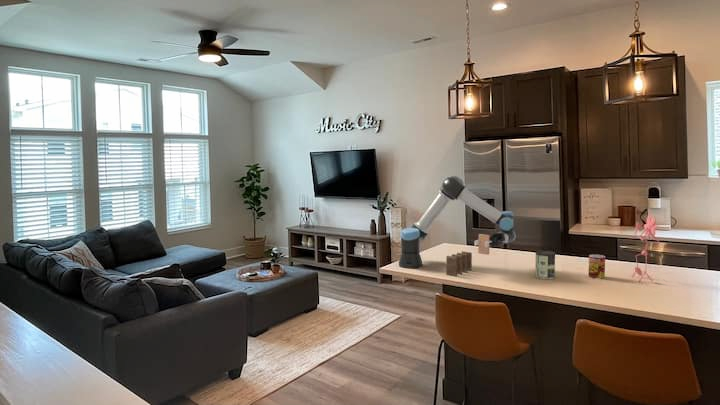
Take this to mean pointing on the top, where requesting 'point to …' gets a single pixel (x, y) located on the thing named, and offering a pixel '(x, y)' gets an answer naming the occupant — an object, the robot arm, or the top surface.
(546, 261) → the coffee can
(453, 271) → the domino
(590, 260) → the canned food
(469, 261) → the domino
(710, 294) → the top surface
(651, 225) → the figurine
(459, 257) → the domino
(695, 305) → the top surface
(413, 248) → the robot arm
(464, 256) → the domino
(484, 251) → the domino
